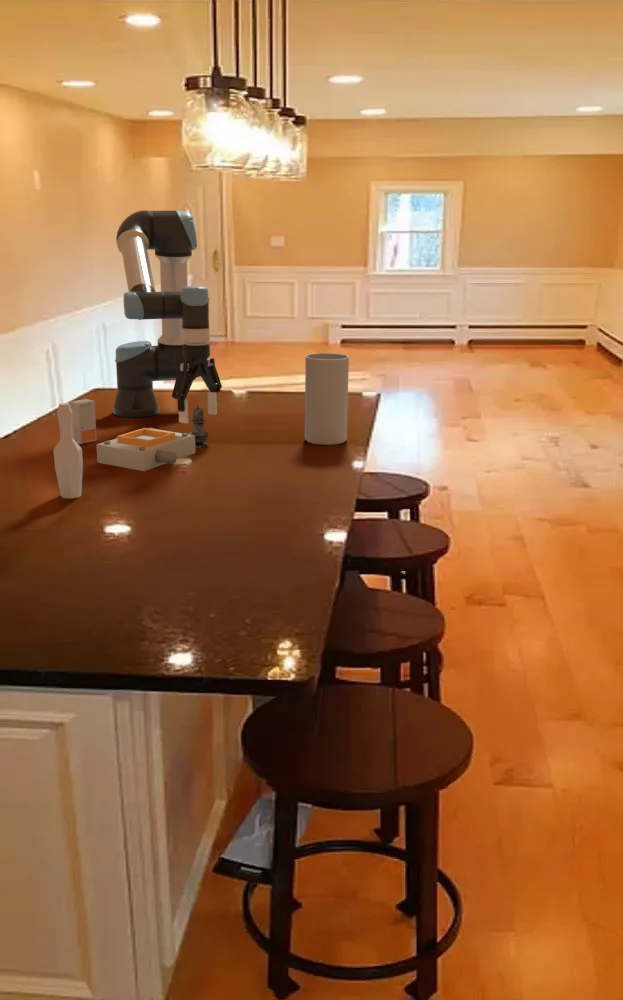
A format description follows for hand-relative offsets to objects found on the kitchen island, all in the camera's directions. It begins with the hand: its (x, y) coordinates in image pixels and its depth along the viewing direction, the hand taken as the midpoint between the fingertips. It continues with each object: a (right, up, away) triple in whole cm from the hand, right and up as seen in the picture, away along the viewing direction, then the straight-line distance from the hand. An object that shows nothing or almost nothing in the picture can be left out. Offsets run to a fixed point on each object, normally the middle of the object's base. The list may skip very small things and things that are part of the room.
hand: (198, 418), depth 250 cm
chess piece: (0, -8, +3) cm, 8 cm away
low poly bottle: (-24, -22, -43) cm, 54 cm away
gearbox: (-10, -12, -11) cm, 20 cm away
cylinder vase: (+37, -6, +10) cm, 38 cm away
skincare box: (-34, -6, +6) cm, 35 cm away
